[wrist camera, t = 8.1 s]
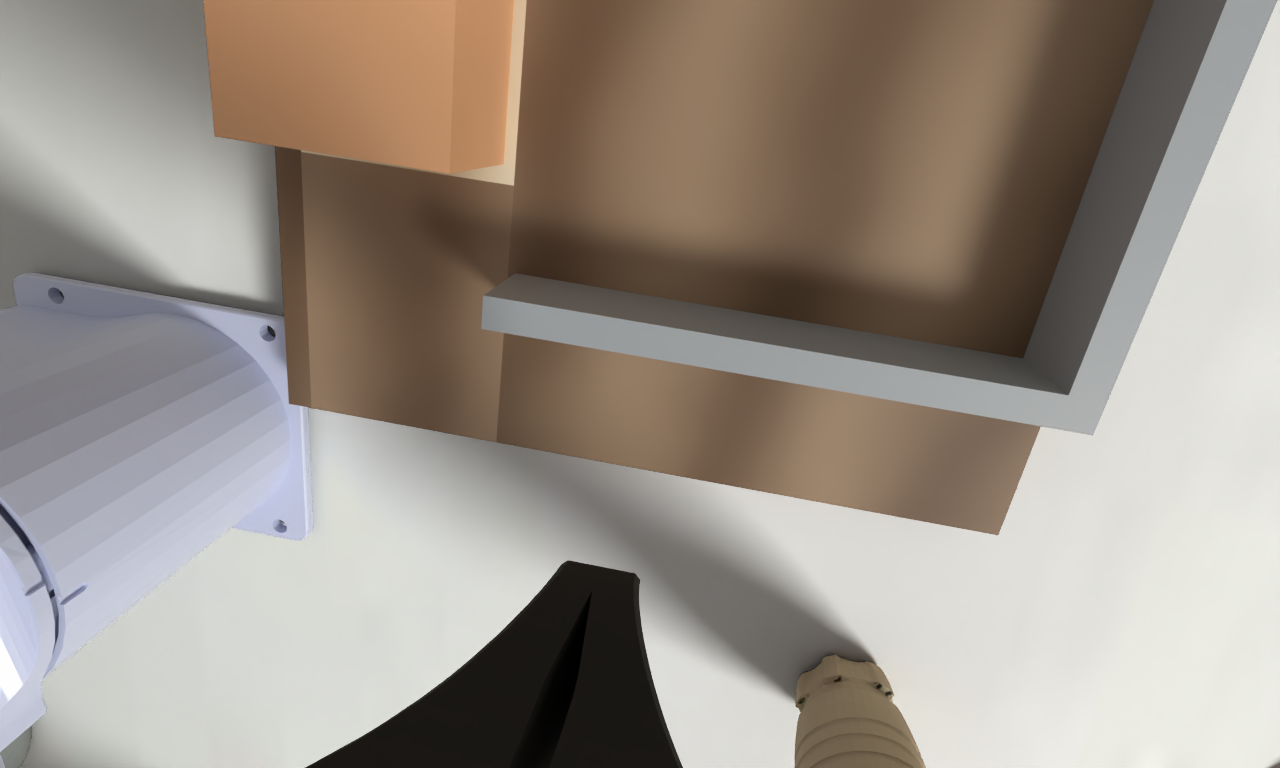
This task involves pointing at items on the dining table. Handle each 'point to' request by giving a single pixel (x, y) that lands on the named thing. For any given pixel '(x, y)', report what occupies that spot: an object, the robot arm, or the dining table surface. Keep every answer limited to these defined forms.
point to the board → (724, 234)
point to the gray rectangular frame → (1075, 302)
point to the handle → (850, 719)
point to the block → (364, 78)
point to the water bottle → (17, 750)
